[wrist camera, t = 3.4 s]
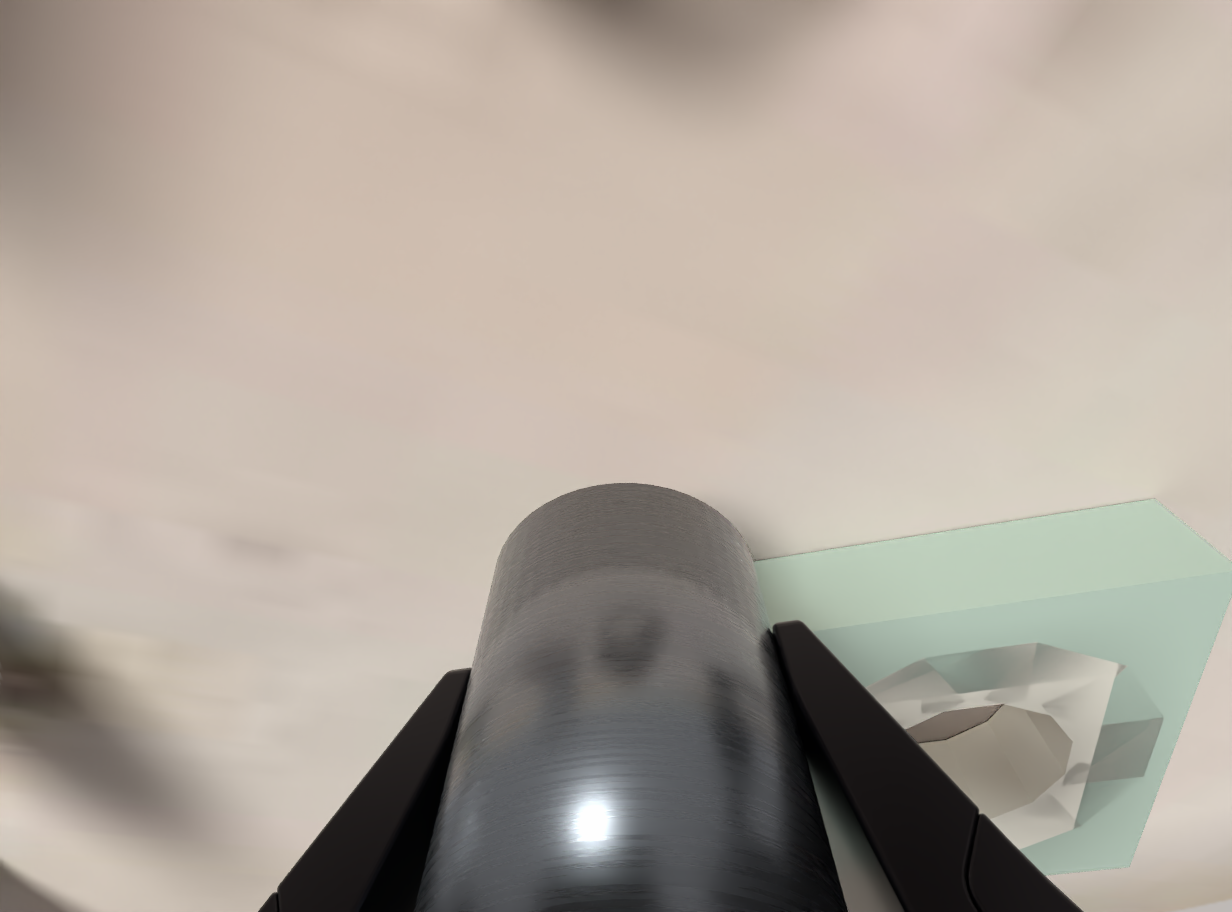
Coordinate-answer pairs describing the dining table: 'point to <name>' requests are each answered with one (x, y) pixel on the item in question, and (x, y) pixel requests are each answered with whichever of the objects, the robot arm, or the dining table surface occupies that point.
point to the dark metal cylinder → (628, 727)
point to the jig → (1030, 659)
